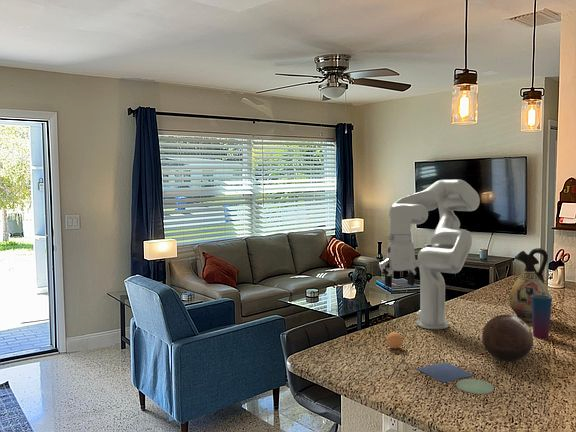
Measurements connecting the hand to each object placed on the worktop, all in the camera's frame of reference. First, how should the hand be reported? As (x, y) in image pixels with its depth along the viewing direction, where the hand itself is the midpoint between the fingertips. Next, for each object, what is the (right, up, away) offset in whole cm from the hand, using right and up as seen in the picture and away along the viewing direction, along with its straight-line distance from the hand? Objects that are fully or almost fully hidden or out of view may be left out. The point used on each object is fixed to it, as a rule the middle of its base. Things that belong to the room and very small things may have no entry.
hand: (399, 285), depth 183 cm
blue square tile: (+8, -23, -29) cm, 37 cm away
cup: (+53, -19, +4) cm, 57 cm away
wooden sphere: (+30, -22, -20) cm, 42 cm away
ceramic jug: (+60, -18, +26) cm, 68 cm away
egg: (-3, -18, -6) cm, 20 cm away
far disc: (+13, -23, -40) cm, 48 cm away
